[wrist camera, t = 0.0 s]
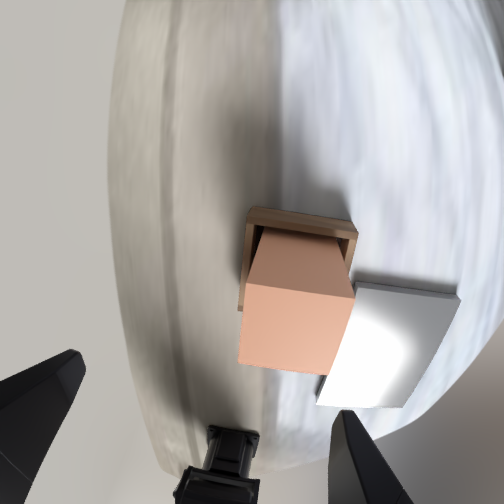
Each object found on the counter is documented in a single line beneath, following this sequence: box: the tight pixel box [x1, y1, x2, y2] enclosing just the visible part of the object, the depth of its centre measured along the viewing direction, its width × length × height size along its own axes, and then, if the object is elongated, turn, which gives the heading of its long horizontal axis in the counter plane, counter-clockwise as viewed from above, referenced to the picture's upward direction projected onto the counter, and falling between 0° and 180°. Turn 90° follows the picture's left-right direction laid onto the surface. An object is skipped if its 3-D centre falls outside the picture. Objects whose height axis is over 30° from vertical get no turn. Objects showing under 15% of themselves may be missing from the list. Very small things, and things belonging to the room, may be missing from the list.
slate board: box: [316, 281, 461, 408], centre depth 24 cm, size 14×10×1 cm
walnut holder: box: [238, 206, 359, 312], centre depth 21 cm, size 7×7×2 cm
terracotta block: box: [238, 226, 356, 375], centre depth 18 cm, size 5×5×9 cm
